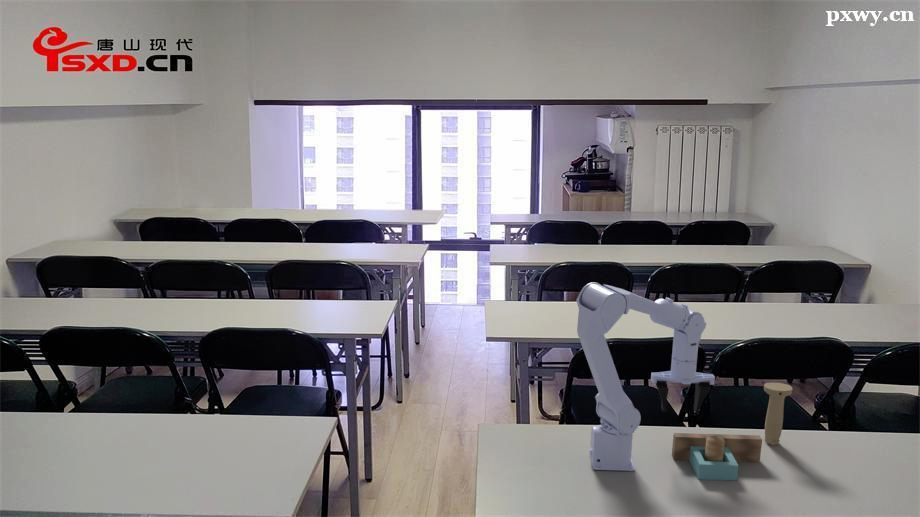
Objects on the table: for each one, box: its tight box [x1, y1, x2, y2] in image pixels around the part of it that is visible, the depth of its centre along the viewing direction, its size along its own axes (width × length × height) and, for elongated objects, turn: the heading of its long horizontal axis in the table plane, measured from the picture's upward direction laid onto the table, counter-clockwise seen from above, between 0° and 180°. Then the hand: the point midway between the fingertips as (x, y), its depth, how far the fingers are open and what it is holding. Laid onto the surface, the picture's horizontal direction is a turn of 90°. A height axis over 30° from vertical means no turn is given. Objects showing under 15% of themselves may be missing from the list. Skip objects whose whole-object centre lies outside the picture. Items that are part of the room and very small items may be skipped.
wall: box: [671, 432, 763, 463], centre depth 191 cm, size 20×2×6 cm, turn 88°
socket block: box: [688, 446, 739, 481], centre depth 186 cm, size 9×9×4 cm
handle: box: [763, 382, 793, 447], centre depth 198 cm, size 5×6×15 cm
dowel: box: [704, 436, 725, 462], centre depth 185 cm, size 4×4×7 cm
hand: (679, 410), depth 194 cm, fingers open, 7 cm apart
